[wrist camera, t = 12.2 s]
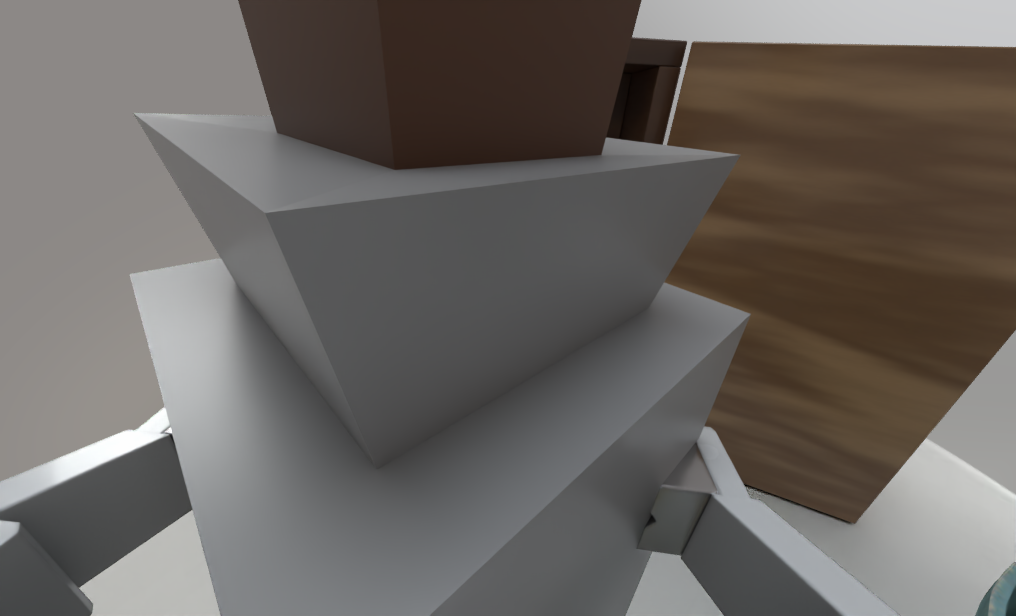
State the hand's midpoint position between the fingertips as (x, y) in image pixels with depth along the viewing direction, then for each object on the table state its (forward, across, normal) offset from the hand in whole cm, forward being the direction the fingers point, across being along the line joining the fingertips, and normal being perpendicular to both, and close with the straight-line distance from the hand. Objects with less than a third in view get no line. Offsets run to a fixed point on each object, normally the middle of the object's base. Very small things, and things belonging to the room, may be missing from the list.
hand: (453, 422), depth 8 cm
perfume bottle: (-1, 0, +10) cm, 10 cm away
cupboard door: (+14, -15, +14) cm, 25 cm away
